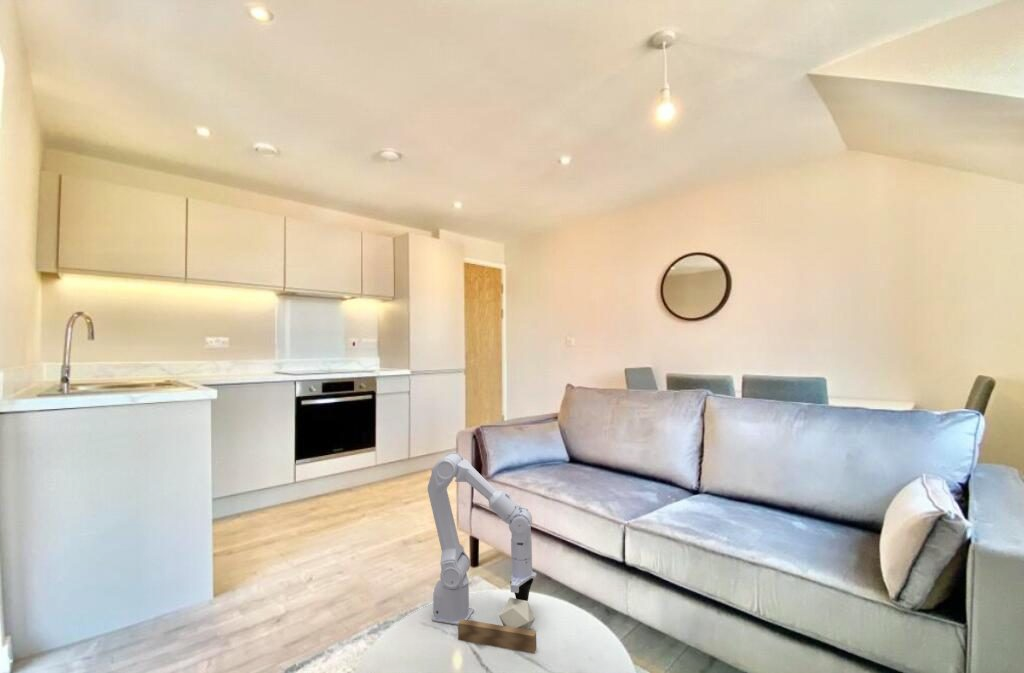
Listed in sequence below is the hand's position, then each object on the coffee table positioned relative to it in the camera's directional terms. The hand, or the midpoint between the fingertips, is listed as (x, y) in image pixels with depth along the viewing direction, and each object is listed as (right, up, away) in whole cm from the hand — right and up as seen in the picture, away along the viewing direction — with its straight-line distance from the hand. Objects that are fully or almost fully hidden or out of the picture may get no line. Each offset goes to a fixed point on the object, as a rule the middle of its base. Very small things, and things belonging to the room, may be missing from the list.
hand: (522, 607), depth 118 cm
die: (-1, -3, -6) cm, 7 cm away
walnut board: (-7, -3, -10) cm, 12 cm away
